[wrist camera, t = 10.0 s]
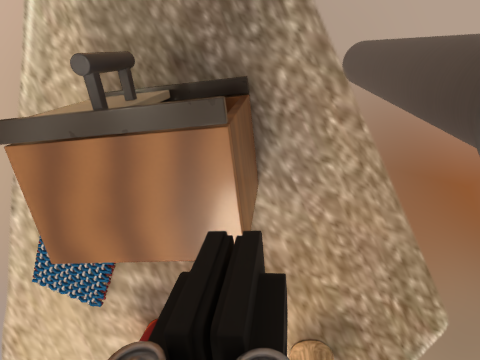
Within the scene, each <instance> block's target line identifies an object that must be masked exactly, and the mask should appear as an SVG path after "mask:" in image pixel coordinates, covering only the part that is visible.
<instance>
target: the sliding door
mask: <svg viewBox="0 0 480 360" xmlns="http://www.w3.org/2000/svg"><path fill="white" fill-rule="evenodd" d="M70 64H71V68H72V69H73V71H74V72H75V73H76V74H78V75H81V76H84V80H85V83H86V87H87V90H88V94H89V97H90V100H86V101H83V102H79V103H76V104H72V105H69V106H65V107H61V108H58V109H54V110H51V111H47V112H44V113H40V114H36V115H33V116H41V115H50V114H60V113H69V112H79V111H88V110H97V109H107V108H116V107H126V106H135V105H145V104H154V103H160V102H162V101H164V100H166V99H168V98H170V93H169V90H164V91H155V92H146V93H137V94H136V91H135V87H134V83H133V78H132V74H131V70H130V68H132V67H133V66H134V64H135V59H134V57H133V55H132V54H131V53H129V52H126V51H124V52H98V53H76V54H74V55H73V56H72V58H71V60H70ZM112 71H118V74H119V78H120V82H121V86H122V90H123V94H124V95H119V96H110V97H105V93H104V89H103V86H102V82H101V78H100V75H99V73H105V72H112ZM29 117H31V116H29Z"/></svg>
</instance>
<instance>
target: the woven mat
mask: <svg viewBox="0 0 480 360" xmlns="http://www.w3.org/2000/svg"><path fill="white" fill-rule="evenodd" d="M40 238H41V236H40ZM39 243H41V244H38V247H41V248H38V250H37V252H39V253H37V255H36V256H38V257H36V262H35V265H36V266H35V267H34V269H35V270H34V273H33V274H34V275H33V277H34V278H36V279H33V280H32V282H37V283H38V284H39V286H40V285H41V286H46V288H50V289H51V290H53V292H54V291H55V290H57V293H61V294H67V296H70V297H71V298H76V299H77V300H78V299H79V300H80V301H81V302H87V304H88V305H90V306H99V307H101V306H102V305H103V302H102V300H104V299H106V297H105V296H106V294H105V293H106V292H107V290H106V289H107V288H108V286H107V283H108V284H110V280H111V278H110V277H109V276H112V272H113V270H114V269H112V268H114V267H115V265H114V264H115V263H116V262H115V263H79V264H78V263H74V264H52V263H51V261H50V258H49V256H48V253H47V251H46V248H45V246H44V243H43V241H42V239H40V240H39ZM47 256H48V257H47ZM78 268H79V269H78ZM68 273H69V274H68ZM37 274H38V275H37ZM75 276H76V277H75ZM93 279H94V280H93ZM51 284H52V285H51ZM83 284H84V285H83ZM72 288H73V289H72ZM62 290H63V291H62ZM99 290H100V291H99ZM71 292H72V293H73V294H72V293H71ZM75 294H76V295H75ZM97 294H98V295H97ZM94 302H95V303H94Z"/></svg>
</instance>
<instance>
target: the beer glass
mask: <svg viewBox="0 0 480 360" xmlns="http://www.w3.org/2000/svg"><path fill="white" fill-rule="evenodd" d="M290 359H291V360H334V356H333V352H332V350H331V349H330V348H329V347H328V346H327V345H326V344H324V343H322V342H319V341H314V340H306V341H302V342H299V343H297V344H296V345H295V346H294V347H293V348H292V349H291V352H290Z"/></svg>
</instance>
